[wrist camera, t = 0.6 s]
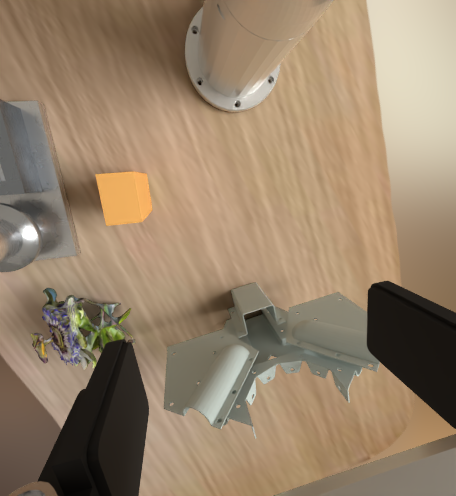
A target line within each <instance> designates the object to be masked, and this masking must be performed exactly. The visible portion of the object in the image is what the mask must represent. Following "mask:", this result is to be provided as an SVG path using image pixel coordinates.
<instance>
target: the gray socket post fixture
mask: <svg viewBox="0 0 456 496" xmlns="http://www.w3.org/2000/svg"><path fill="white" fill-rule="evenodd" d="M80 253H81V251H80V247H79V243H78V239H77V235H76V231H75V227H74V223H73V219H72V215H71V211H70V207H69V203H68V199H67V195H66V191H65V187H64V183H63V179H62V175H61V171H60V167H59V163H58V159H57V155H56V151H55V147H54V143H53V139H52V135H51V131H50V127H49V123H48V119H47V115H46V111H45V107H44V104H42V103H40V102H39V101H13V102H5V101H2V100H0V272H11V271H15V270H19V269H21V268H23V267H25V266H27V265H28V264H30V263H32V262H33V261H36V260H44V259H52V258H60V257H69V256H77V255H78V254H80Z"/></svg>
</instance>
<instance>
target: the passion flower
mask: <svg viewBox="0 0 456 496" xmlns="http://www.w3.org/2000/svg"><path fill="white" fill-rule="evenodd" d="M43 292H44V293H45V295H46V296H47V299H48V301H47V302H46V304H45V305H44V306H43V308H42V310H43V313H44V316H43V317H42V318H43V320H45V321H46V322H47V324H48V325H49V327H50V332H52V337H51V338H49V339H48V340H44V338H43V336H42V335H41V334H39V333H34V334H31V337H32V339H33V344H32V346H33V347H34V349H35V351H36V352H37V353H38V356H39V358H40V359H41V360H42V361H43V362H44V363H47V362H48V358H47V353H46V350H45V346H46V345H47V344H48V343H49V342H52V343H51V344H52V346H53V348H54V350H58V351H59V354H60V358H61V360H64V362H65V363H66V365H67V362H70V363H71V364H72V363H74V365H75V366H77V365H78V364H79V363H80V362H81V365H82V368H83V370H84V369H86V368H87V366H88V364H89V363H90V362H91V361H92V362H93V366H92V368H94V367H95V366H96V358H95V356H94V355H93V353H92V350H93V349H96V348H98V347H99V351H100V352H101V353H102V351H103V349H104V346H105V344H106V343H108V342H112V341H116V340H121V339H124V338H125V335H124V333H123V332H122V331H121V330H119V329H118V328H117V327H116V326H117V325H118V326H119V327H120V328H121V329H122V330H123V331H125V332H126V333H127V334H128V335H129V336H130V337H131V338H132V340H129V341H128V342H131V343H132V344H135V340H134V339H133V337H132V335H130V333H129V332H128V331H126V329H124V328H123V327H122V326H121V325H120V323H121V322H122V321H123V320H125V319H126V318H127V316H128V315H129V313H130V310H131V308H130V309H129V310H128V311H126V312H125V313H124V314H123V315H122V316H120V317H117V318H114V317H113V316H112V313H113V311H114V308H115V307H116V306H117V305H120V304H121V303H116V304H110V305H108V304H105V303H104V304H98V303H95V302H92V301H90V300H88V299H84V298H75V297H74V295H70V296H68V297H67V298H66V300H65V302H64V301H61V302H59V303H58V302H57V301H56V296H57V294H56V292H55V290H54V289H51V288H46V289H45V290H44V291H43ZM83 302H88V303H90V304H93V305H96V306H99V307H100V313H99V314H98V315H97V316H95V317H94V318H92V319H91V320H89V318H88V317H87V315H86V313H85V312H84V311H83V308H82V304H83ZM104 313H106V314H107V315H108V316H109V317H110V319H111V321H110V322H109V323H108V322H105V321H104V319H103V316H104ZM97 317H99V318H100V319H101V322H100V324H99V326H96V325H94V324H93V323H91V321H92V320H94V319H95V318H97ZM81 328H82V329H85V330H87V331H91V332H90V334H89V335H88V336H86V337H84V335H83V334H82V332H81V331H79V330H80V329H81ZM72 365H73V364H72Z"/></svg>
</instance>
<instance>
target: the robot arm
mask: <svg viewBox="0 0 456 496" xmlns="http://www.w3.org/2000/svg"><path fill="white" fill-rule="evenodd" d="M332 2H333V0H204V6H203V7H202V8H201V9H200V10H199V11H198V12H197V13H196V14H195V16H194V18H193V20H192V21H191V23H190V26H189V29H188V32H187V35H186V42H185V62H186V67H187V71H188V75H189V77H190V79H191V82H192V84H193V86H194V87H195V89H196V90H197V92H198V93H199V94H200V95H201V96H202V97H203V98H204V100H205V101H207V102H208V103H209V104H211V105H212V106H214V107H216V108H218V109H220V110H223V111H228V112H242V111H247V110H249V109H251V108H254V107H255V106H257V105H258V104H260V103H261V102H262V101H263V100H264V99H265V98H266V97H267V96H268V95H269V93H270V92H271V91H272V89H273V87H274V85H275V84H276V81H277V78H278V75H279V71H280V64H281V62H282V61H283V60H284V59H285V57H286V56H287V55H288V54H289V53H290V52H291V51H292V49H293V48H294V47H295V46H296V45H297V44H298V43H299V41H300V40H301V39H302V38H303V37H304V36H305V35H306V33H307V32H308V31H309V30H310V29H311V28H312V27H313V25H314V24H315V23H316V22H317V21H318V20H319V18H320V17H321V16H322V15H323V14H324V13H325V11H326V10H327V9H328V7H329V6H330V4H331V3H332ZM193 32H196V34H193ZM268 80H269V81H270V83H269V82H268ZM198 82H201V85H198ZM235 104H237V105H238V107H235ZM367 348H368V350H369V352H370V353H371V354H372V355H373V356H374V357H375V358H376V359H377V360H378V361H380V362H381V363H382V364H383V365H384V366H385V367H386V368H387V369H388V370H390V371H391V372H392V373H393V374H394V375H395V376H396V377H397V378H399V379H400V380H401V381H402V382H403V383H404V384H405V385H406V386H407V387H409V388H410V389H411V390H412V391H413V392H414V393H415V394H417V395H418V396H419V397H420V398H421V399H422V400H423V401H424V402H425V403H427V404H428V405H429V406H430V407H431V408H432V409H433V410H434V411H436V412H437V413H438V414H439V415H440V416H441V417H442V418H443V419H444V420H445V421H447V422H448V423H449V424H450V425H451V426H452V427H454V428H455V429H456V313H455V312H453V311H451V310H449V309H446V308H444V307H442V306H440V305H438V304H436V303H434V302H432V301H430V300H427V299H425V298H423V297H421V296H419V295H417V294H415V293H413V292H411V291H408V290H407V289H404V288H402V287H400V286H398V285H396V284H394V283H392V282H389V281H383V282H379V283H374V284H372V285H371V288H370V289H369V290H368V309H367ZM148 415H149V405H148V399H147V396H146V392H145V389H144V385H143V382H142V378H141V374H140V371H139V367H138V364H137V360H136V356H135V353H134V349H133V346H132V343H131V342H127V343H126V341H125V339H121V340H116V341H112V342H108V343H106V344H105V346H104V349H103V351H102V353H101V356H100V358H99V360H98V362H97V365H96V367H95V369H94V371H93V374H92V376H91V378H90V380H89V383H88V385H87V387H86V389H83V390H82V391H80V393H79V394H78V396H77V398H76V400H75V402H74V404H73V406H72V409H71V411H70V413H69V415H68V417H67V419H66V421H65V424H64V426H63V428H62V430H61V432H60V434H59V437H58V439H57V441H56V443H55V445H54V447H53V449H52V451H51V454H50V456H49V458H48V460H47V462H46V464H45V467H44V468H43V471H42V473H41V475H40V477H39V479H38V481H37V482H34V483H30V484H28V485H25V486H24V487H21V488H19V489H17V490H16V491H14V492H13V493H11V494H10V495H8V496H138V494H139V486H140V478H141V471H142V463H143V455H144V447H145V439H146V431H147V423H148ZM274 496H456V434H454V435H451V436H448V437H446V438H442V439H439V440H436V441H433V442H430V443H427V444H424V445H421V446H418V447H416V448H412V449H409V450H406V451H403V452H400V453H398V454H395V455H392V456H388V457H385V458H383V459H380V460H377V461H374V462H371V463H368V464H365V465H362V466H359V467H356V468H353V469H350V470H347V471H344V472H341V473H338V474H336V475H332V476H329V477H326V478H323V479H321V480H318V481H315V482H312V483H309V484H306V485H303V486H300V487H297V488H294V489H291V490H289V491H286V492H283V493H280V494H277V495H274Z"/></svg>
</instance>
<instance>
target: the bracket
mask: <svg viewBox="0 0 456 496" xmlns="http://www.w3.org/2000/svg"><path fill="white" fill-rule="evenodd" d="M231 293H232V297H233V301H234V305H235V307H232V308H229V309H228V311H229V313H230V316H231V319H229V320H226V323H225V326H224V328H223V329H221V330H218V331H215V332H212V333H209V334H206V335H203V336H200V337H197V338H193V339H190V340H187V341H184V342H181V343H178V344H175V345H172V346H169V347H168V348H167V364H166V380H165V396H164V409H166V410H168V411H171V412H174V413H177V414H180V415H182V416H185V414H186V413H187V411H188V409H189V408H193V409H195V410H197V411H199V412H200V413H202V414H203V415H204V416H205V417H206V418H207V419H208V421H209V422H210V424H211V426H213V427H216V428H219V429H221V428H222V426H223V425H226V424H227V423H228V421H229V419H232V420H235V421H238V422H241V423H244V424H247V425H250V426H252V429H253V432H254V436H255V438H256V435H255V431H254V428H253V424H252V421H251V418H250V414H249V411H248V408H247V405H246V400H247V402H248V403H249V404H250V405H252V402H253V400H254V398H255V395H256V384H255V379H256V377H258V378H259V379H260V380H261V381H262V383H263V384H266V383H267V382H269V381H270V380H272V379H274V377H275V369H276V365H277V364H280V365H281V367H282V368H283V370H284V371H285V373H296V372H299V371H300V367H301V363H302V361H306V362H307V364H308V366H309V368H310V370H311V372H312V374H314V375H317V376H319V377H322V378H326V376H327V373H328V370H331V371H332V375H333V378H334V381H335V385H336V387H337V388H338V389H339V391H340V392H341V393H342V395H343V396H344V397H345V399H346V400H347V401H348V403H350V400H349V392H348V389H349V386H350V384H351V381H352V379H353V377H354V375H356V376H359V375H360V373H361V370H362V367H364V368H367V369H370V370H373V371H376V372H377V370H378V367H379V361H378V360H377V359H376V358H375V357H374V356H373V355H372V354H371V353H370V352H369V350H368V348H367V312H366V311H365V310H363V309H362V308H360V307H359V306H357V305H356V304H355V303H353V302H352V301H350V300H349V299H348V298H346V297H345V296H343V295H342V294H340V293H339V292H337V293H334V294H331V295H327V296H324V297H321V298H318V299H315V300H312V301H309V302H306V303H302V304H299V305H296V306H293V307H290V308H289V312H287V311H285V310H282V309H280V308H278V307H275V306H274V305H273V304H272V302H271V301H270V300H269V298H268V297H267V296H266V295H265V293H264V292H263V291H262V289H261V288H260V287H259V286H258V284H257V283H256V282H255V283H251V284H248V285H245V286H241V287H238V288H235V289H232V290H231ZM339 299H342V300H339ZM263 308H264V309H263ZM260 309H261V310H262V315H259V316H256V317H253V318H250V319H247V320H244V315H245V314H247V313H251V312H254V311H257V310H260ZM268 311H269V313H268ZM231 312H234V313H231ZM296 313H299V314H296ZM314 319H317V320H314ZM281 330H284V331H283V332H281ZM213 352H214V354H213ZM173 353H176V354H175V355H172V354H173ZM270 356H274V357H277V358H274V359H271V360H268V359H269V358H270ZM369 364H372V365H373V366H374V367H369V366H368V365H369ZM291 368H294V370H293V371H291V370H290V369H291ZM337 369H338V370H341V371H338V370H337ZM316 371H318V372H320V374H318V373H317V372H316ZM254 372H256V374H253V373H254ZM268 376H270V378H269V379H268V380H267V377H268ZM198 382H200V383H199V385H197V383H198ZM339 386H340V387H339ZM340 388H341V389H340ZM252 395H253V398H252ZM170 403H174V405H173V406H169V405H170ZM237 405H241V407H240V408H236V406H237Z"/></svg>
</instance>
